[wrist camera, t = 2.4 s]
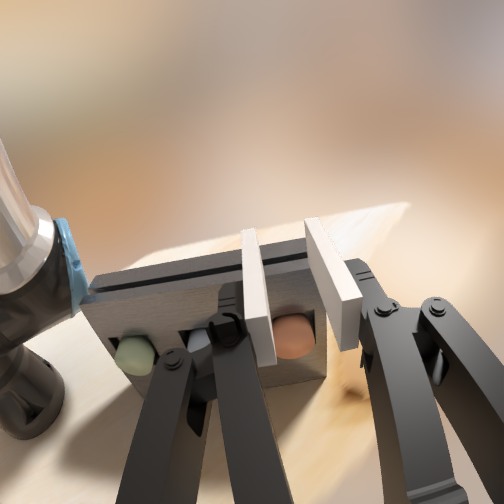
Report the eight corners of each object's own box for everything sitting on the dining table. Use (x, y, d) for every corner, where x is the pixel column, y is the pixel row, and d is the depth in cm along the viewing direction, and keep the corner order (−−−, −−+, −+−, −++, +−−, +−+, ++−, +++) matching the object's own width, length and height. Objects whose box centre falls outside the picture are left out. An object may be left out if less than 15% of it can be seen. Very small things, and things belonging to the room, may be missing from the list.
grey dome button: (194, 372, 28) (180, 346, 26) (195, 353, 30) (183, 327, 28) (233, 368, 27) (223, 341, 25) (233, 349, 30) (223, 322, 28)
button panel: (142, 397, 33) (78, 305, 25) (149, 368, 37) (95, 275, 29) (326, 376, 32) (324, 265, 24) (318, 346, 36) (311, 236, 28)
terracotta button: (274, 362, 27) (268, 335, 25) (271, 343, 29) (266, 315, 27) (315, 354, 27) (314, 326, 25) (310, 336, 29) (308, 307, 27)
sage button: (125, 376, 28) (107, 352, 26) (130, 359, 30) (114, 335, 28) (157, 375, 28) (141, 350, 26) (161, 357, 30) (146, 331, 28)
